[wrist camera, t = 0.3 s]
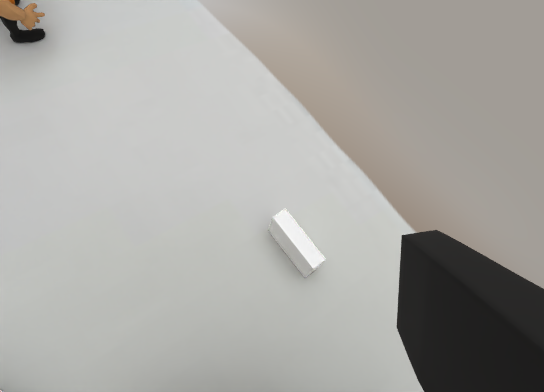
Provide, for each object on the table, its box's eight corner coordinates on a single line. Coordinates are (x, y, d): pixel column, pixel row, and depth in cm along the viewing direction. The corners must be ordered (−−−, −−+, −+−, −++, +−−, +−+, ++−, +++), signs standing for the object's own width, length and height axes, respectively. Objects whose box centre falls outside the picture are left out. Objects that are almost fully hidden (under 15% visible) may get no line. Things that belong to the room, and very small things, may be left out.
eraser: (304, 278, 41) (313, 269, 37) (267, 230, 42) (272, 217, 38) (316, 269, 41) (326, 259, 38) (279, 221, 42) (285, 207, 39)
